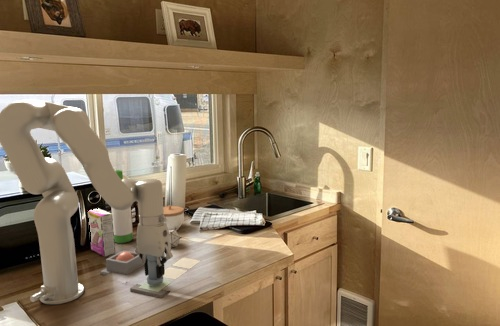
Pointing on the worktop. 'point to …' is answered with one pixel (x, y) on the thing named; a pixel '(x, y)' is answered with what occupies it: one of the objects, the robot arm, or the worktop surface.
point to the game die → (174, 238)
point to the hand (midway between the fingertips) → (154, 274)
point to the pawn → (153, 271)
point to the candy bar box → (101, 232)
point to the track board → (169, 273)
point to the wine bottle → (122, 221)
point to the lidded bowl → (173, 216)
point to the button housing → (122, 264)
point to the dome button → (124, 256)
